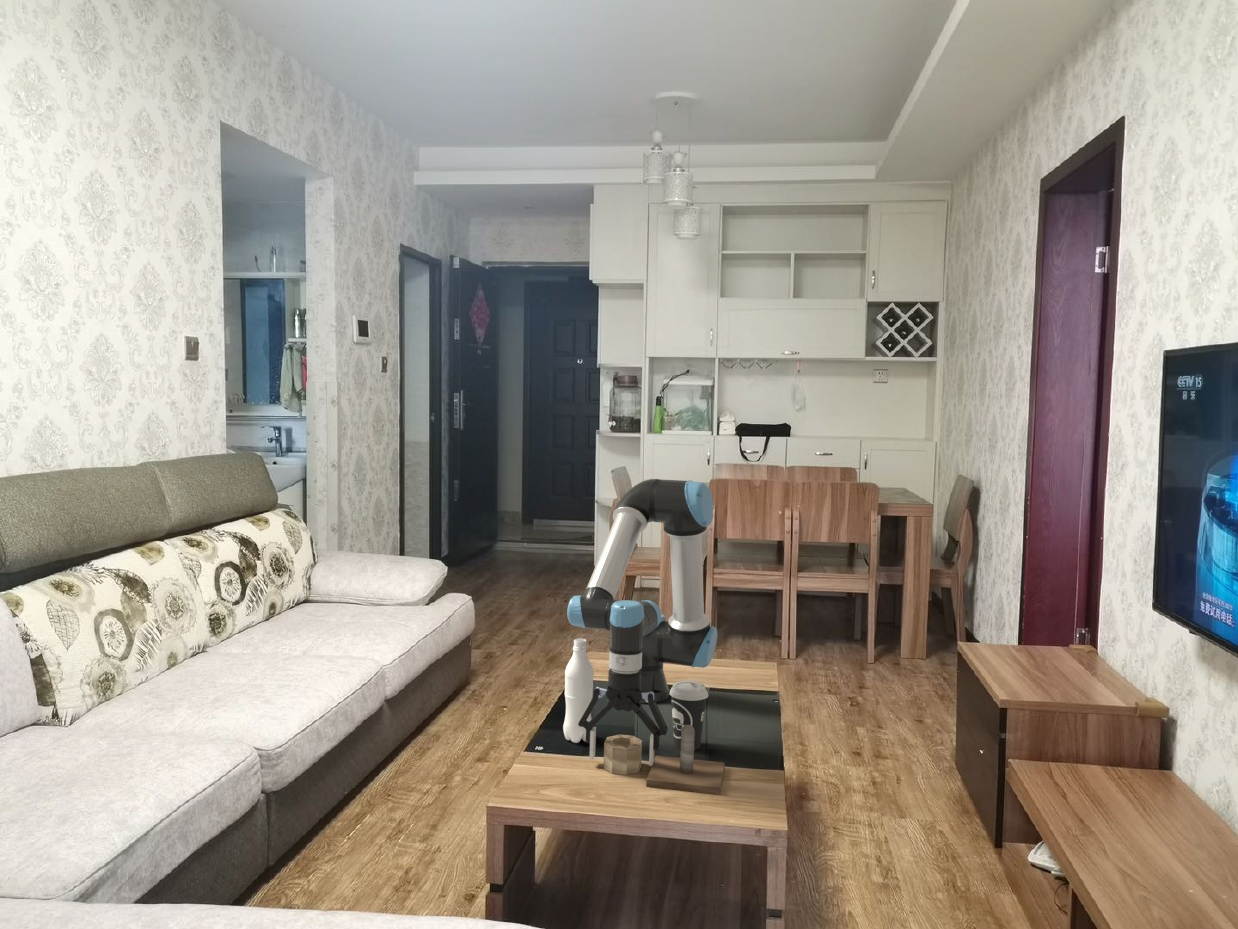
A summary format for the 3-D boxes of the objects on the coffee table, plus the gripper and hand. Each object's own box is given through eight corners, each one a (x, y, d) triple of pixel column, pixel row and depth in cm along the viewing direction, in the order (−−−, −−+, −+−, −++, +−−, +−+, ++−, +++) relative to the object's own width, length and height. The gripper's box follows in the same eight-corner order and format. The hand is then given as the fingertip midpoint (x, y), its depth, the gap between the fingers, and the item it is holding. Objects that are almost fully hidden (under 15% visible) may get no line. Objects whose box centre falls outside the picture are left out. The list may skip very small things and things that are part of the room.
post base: (655, 761, 210) (657, 711, 209) (724, 769, 207) (726, 718, 206) (646, 786, 196) (648, 732, 195) (719, 794, 193) (721, 740, 192)
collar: (608, 758, 211) (609, 733, 211) (642, 762, 209) (643, 737, 209) (601, 772, 203) (602, 746, 203) (637, 776, 201) (637, 750, 201)
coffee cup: (704, 755, 215) (706, 693, 214) (664, 750, 217) (666, 690, 216) (708, 740, 224) (710, 681, 223) (670, 736, 226) (672, 678, 225)
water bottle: (557, 739, 222) (559, 639, 221) (577, 731, 228) (580, 634, 226) (577, 747, 217) (580, 645, 216) (597, 739, 223) (600, 640, 221)
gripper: (567, 669, 203) (564, 760, 204) (677, 679, 199) (673, 772, 200) (575, 660, 211) (572, 748, 212) (681, 669, 206) (678, 759, 207)
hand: (621, 760), depth 206 cm, fingers open, 13 cm apart
